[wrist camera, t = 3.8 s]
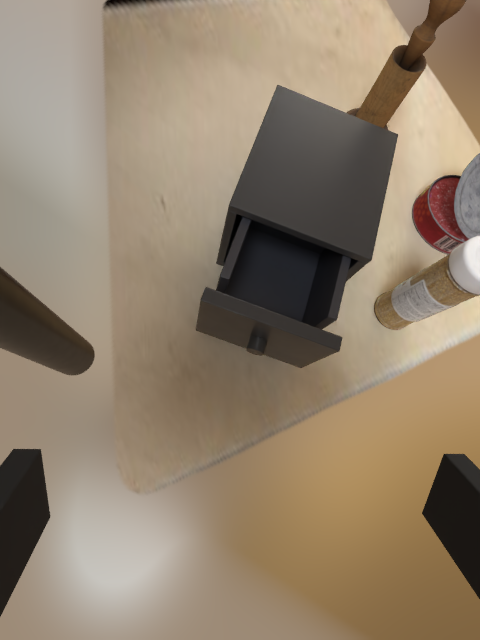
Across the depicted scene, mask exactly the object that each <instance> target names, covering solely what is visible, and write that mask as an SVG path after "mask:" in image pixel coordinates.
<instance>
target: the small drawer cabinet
mask: <svg viewBox="0 0 480 640" xmlns="http://www.w3.org/2000/svg"><path fill="white" fill-rule="evenodd" d="M397 137H398V134H396V133H393V132H391V131H388V130H386V129H384V128H381V127H379V126H376V125H374V124H372V123H369V122H367V121H364V120H362V119H359V118H357V117H355V116H352V115H350V114H347V113H345V112H343V111H340V110H338V109H335V108H333V107H331V106H328V105H326V104H323V103H321V102H318V101H316V100H314V99H311V98H309V97H306V96H304V95H302V94H299V93H297V92H294V91H292V90H289V89H287V88H285V87H282V86H280V85H277V87H276V90H275V92H274V95H273V97H272V100H271V102H270V105H269V107H268V110H267V112H266V115H265V117H264V120H263V122H262V125H261V127H260V129H259V132H258V134H257V137H256V139H255V142H254V144H253V147H252V149H251V152H250V154H249V157H248V159H247V162H246V164H245V167H244V169H243V172H242V174H241V177H240V179H239V182H238V184H237V186H236V189H235V191H234V194H233V196H232V199H231V201H230V204H229V208H228V212H227V217H226V221H225V226H224V230H223V235H222V239H221V244H220V248H219V253H218V257H217V262H216V263H217V264H219V265H222V266H224V264H225V261H226V259H227V256H228V253H229V251H230V248H231V246H232V243H233V240H234V238H235V235H236V232H237V230H238V227H239V225H240V222H241V219H242V217H243V216H244V217H246V218H249V219H251V220H254V221H257V222H259V223H262V224H264V225H267V226H270V227H272V228H275V229H277V230H280V231H282V232H285V233H288V234H290V235H293V236H295V237H298V238H301V239H303V240H306V241H308V242H311V243H314V244H316V245H319V246H321V247H324V248H327V249H329V250H332V251H334V252H337V253H340V254H342V255H345V256H347V257H350V258H351V262H350V266H349V270H348V274H347V278H346V281H347V280H348V279H349V278H351V277H352V276H353V275H354V274H355V273H356V272H358V271H359V270H360V269H361V268H362V267H363V266H365V265H366V264H367V263H368V262H370V261H371V260H372V255H373V251H374V246H375V241H376V237H377V232H378V227H379V222H380V218H381V213H382V208H383V203H384V199H385V194H386V189H387V185H388V180H389V175H390V170H391V166H392V161H393V156H394V152H395V147H396V142H397Z"/></svg>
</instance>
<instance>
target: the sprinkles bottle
mask: <svg viewBox="0 0 480 640" xmlns="http://www.w3.org/2000/svg"><path fill="white" fill-rule="evenodd" d="M478 295H480V236H476V237H473V238H471V239H469V240H467V241H466V242H464V243H462V244H461V245H459V246H458V247H456V248H455V249H454V250H453V251H452V252H451V253H450V254H449V255H447V256H446V257H444V258H443V259H441V260H439V261H438V262H436V263H434V264H433V265H431V266H430V267H427V268H425V269H424V270H422V271H420V272H419V273H417V274H415V275H414V276H412V277H410V278H409V279H407V280H406V281H404V282H402V283H401V284H399V285H398V286H396V287H395V288H394V289H392V290H391V291H389V292H388V293H384V294H383V295H381V296H380V297H379V298H378V299H377V301H376V304H375V312H376V316H377V318H378V319H379V321H380V322H381V323H382V324H383V325H384V326H385V327H387V328H389V329H394V330H398V329H402V328H404V327H406V326H407V325H409V324H411V323H413V322H415V321H420V320H422V319H425V318H427V317H429V316H432V315H434V314H437V313H439V312H441V311H444V310H446V309H448V308H451V307H453V306H456V305H458V304H459V303H461V302H463V301H466V300H468V299H470V298H473V297H475V296H478Z"/></svg>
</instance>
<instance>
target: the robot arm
mask: <svg viewBox="0 0 480 640" xmlns="http://www.w3.org/2000/svg"><path fill="white" fill-rule="evenodd" d="M422 514H423V515H424V517H425V518H426V520H427V521H428V523H429V524H430V526H431V527H432V529H433V530H434V532H435V533H436V535H437V536H438V538H439V539H440V540H441V542H442V544H443V545H444V547H445V548H446V550H447V551H448V552H449V554H450V556H451V557H452V559H453V560H454V562H455V563H456V565H457V566H458V568H459V569H460V571H461V572H462V573H463V575H464V576H465V578H466V579H467V581H468V582H469V584H470V585H471V587H472V588H473V590H474V591H475V593H476V594H477V596H478V597H479V599H480V470H479V469H478V467H477V466H476V465H475V464H473V462H472V461H471V460H470V459H469V458H468V457H467V456H466V455H465V454H444V455H443V458H442V460H441V463H440V466H439V469H438V471H437V474H436V477H435V480H434V482H433V485H432V488H431V490H430V493H429V496H428V499H427V502H426V504H425V507H424V509H423V512H422ZM49 518H50V512H49V505H48V498H47V490H46V483H45V476H44V469H43V462H42V455H41V449H13V450H12V452H11V453H10V454H9V456H8V457H7V458H6V460H5V461H4V462H3V463H2V465H1V466H0V616H1V614H2V612H3V610H4V608H5V606H6V604H7V602H8V600H9V598H10V596H11V594H12V592H13V590H14V588H15V586H16V584H17V582H18V580H19V578H20V576H21V574H22V572H23V570H24V568H25V566H26V564H27V562H28V560H29V558H30V556H31V554H32V552H33V550H34V548H35V546H36V544H37V542H38V540H39V538H40V536H41V534H42V532H43V530H44V528H45V526H46V524H47V522H48V520H49Z"/></svg>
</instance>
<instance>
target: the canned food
mask: <svg viewBox="0 0 480 640" xmlns="http://www.w3.org/2000/svg"><path fill="white" fill-rule="evenodd" d="M412 214H413V221H414V224H415V227H416V229H417V231H418V232H419V234H420V235H421V237H422V238H423V239H424V240H425V241H426V242H427V243H428V244H429V245H430V246H432V247H433V248H435V249H437V250H438V251H441V252H443V253H446V254H450V253H451V252H452V251H453V250H454V249H455V248H456V247H458V246H459V245H461V244H462V243H464V242H466V241H467V240H469V239H471V238H473V237H476V236H480V153H479V154H478V155H477V156H476V157H475V158H474V159H473V160H472V161H471V162H470V163H469V165H468V166H467V167H466V168H465V170H464V171H463V173H462V176H458V175H448V176H443V177H441V178H438V179H437V180H436V181H434V182H433V184H432V185H430V186H429V187H428V188H427V189H426V190H425V191H424V192H423V193H422V194H421V195H419V197H418V198H417V199H416V201H415V203H414V205H413V210H412Z"/></svg>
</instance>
